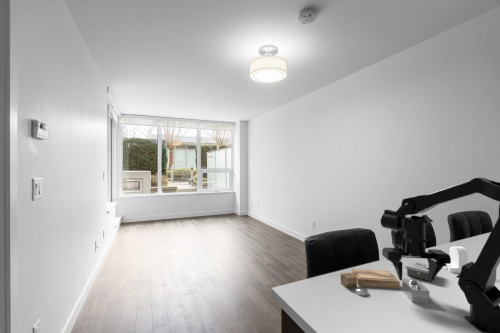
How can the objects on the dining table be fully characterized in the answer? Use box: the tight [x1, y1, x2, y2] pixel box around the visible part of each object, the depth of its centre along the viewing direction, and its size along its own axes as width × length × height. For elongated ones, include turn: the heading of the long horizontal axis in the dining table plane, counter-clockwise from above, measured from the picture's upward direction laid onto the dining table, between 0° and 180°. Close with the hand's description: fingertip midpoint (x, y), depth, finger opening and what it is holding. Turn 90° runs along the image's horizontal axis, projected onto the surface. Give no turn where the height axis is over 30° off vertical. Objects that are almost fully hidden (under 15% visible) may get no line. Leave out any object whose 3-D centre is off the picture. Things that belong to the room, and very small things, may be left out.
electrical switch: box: [404, 259, 429, 281], centre depth 98 cm, size 9×5×9 cm
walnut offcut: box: [340, 272, 358, 290], centre depth 90 cm, size 4×4×4 cm
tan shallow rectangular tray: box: [351, 268, 400, 289], centre depth 93 cm, size 9×14×3 cm, turn 81°
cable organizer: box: [442, 245, 469, 274], centre depth 103 cm, size 5×10×10 cm, turn 84°
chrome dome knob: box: [354, 286, 369, 297], centre depth 85 cm, size 4×4×2 cm
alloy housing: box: [401, 278, 430, 305], centre depth 82 cm, size 8×5×5 cm, turn 167°
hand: (415, 280), depth 82 cm, fingers open, 9 cm apart
